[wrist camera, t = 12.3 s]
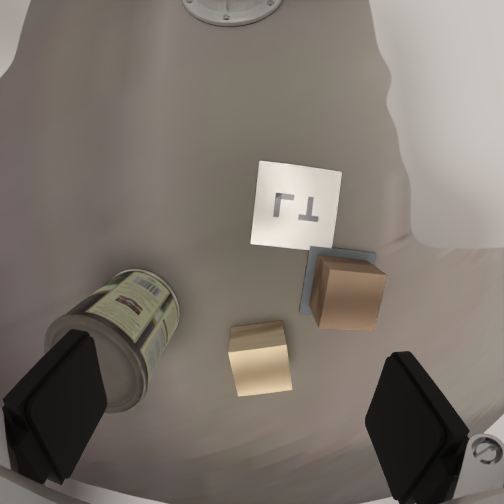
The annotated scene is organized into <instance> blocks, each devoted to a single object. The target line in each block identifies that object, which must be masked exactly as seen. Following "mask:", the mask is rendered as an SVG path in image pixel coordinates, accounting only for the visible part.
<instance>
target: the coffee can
mask: <svg viewBox="0 0 504 504" xmlns="http://www.w3.org/2000/svg"><path fill="white" fill-rule="evenodd" d="M179 318H180V309H179V304H178V300H177V298H176V296H175V294H174V292H173V290H172V289H171V287H170V286H169V285H168V284H167V283H166V282H165V281H164V280H163V279H161V278H160V277H159V276H157V275H155V274H154V273H151V272H149V271H146V270H141V269H129V270H125V271H122V272H120V273H118V274H117V275H115V276H114V277H113V278H112V279H111V280H110V281H108V282H107V283H106V284H105V285H103V286H102V287H101V288H99V289H98V290H97V291H95V292H94V293H93V294H91V295H90V296H89V297H87V298H86V299H85V300H83V301H82V302H81V303H79V304H78V305H77V306H76V307H74V308H73V309H72V310H70V311H69V312H68V313H67V314H65V315H62V316H61V317H59V318H58V319H56V320H55V321H54V322H53V323H52V324H51V325H50V327H49V328H48V330H47V332H46V335H45V341H44V349H45V354H46V353H47V352H48V351H49V350H50V349H51V348H52V347H53V346H54V345H55V344H56V343H57V342H58V341H59V340H60V339H61V338H62V337H63V336H64V335H65V334H66V333H67V332H68V331H69V330H71V329H77V330H82V331H87V332H88V333H89V334H90V337H93V339H94V341H95V346H96V352H97V357H98V362H99V366H100V371H101V375H102V380H103V384H104V388H105V392H106V396H107V408H106V410H105V412H104V413H108V414H122V413H127V412H129V411H132V410H133V409H135V408H136V407H138V406H139V404H140V403H141V402H142V401H143V399H144V397H145V394H146V391H147V387H148V384H149V382H150V380H151V378H152V376H153V374H154V372H155V370H156V368H157V366H158V364H159V361H160V359H161V357H162V355H163V353H164V351H165V349H166V347H167V345H168V343H169V341H170V339H171V337H172V335H173V333H174V332H175V330H176V328H177V326H178V323H179Z"/></svg>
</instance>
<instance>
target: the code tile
mask: <svg viewBox="0 0 504 504" xmlns="http://www.w3.org/2000/svg"><path fill="white" fill-rule="evenodd" d="M341 174H342V172H339V171H333V170H326V169H320V168H313V167H306V166H299V165H291V164H284V163H275V162H267V161H259V169H258V178H257V187H256V197H255V206H254V215H253V225H252V234H251V243H250V244H256V245H265V246H274V247H284V248H293V249H303V250H310V246H316V247H325V248H332V243H333V236H334V230H335V223H336V215H337V208H338V200H339V192H340V183H341Z"/></svg>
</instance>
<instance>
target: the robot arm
mask: <svg viewBox="0 0 504 504" xmlns="http://www.w3.org/2000/svg"><path fill="white" fill-rule="evenodd" d="M182 1H183V3H184V6H185V7H186V9H187V10H188V12H190V13H191V14H192V15H193V16H194V17H196V18H197V19H199V20H201V21H204V22H206V23H209V24H214V25H218V26H240V25H245V24H250V23H253V22H256V21H259V20H261V19H263V18H265V17H267V16H268V15H270V14H271V13H272V12H274V11H275V10H276V9H277V8H278V7H279V5H280V4H281V2H282V0H182ZM3 402H4V404H5V405H4V406H3V408H1V407H0V504H89V503H87V502H84V501H81V500H78V499H76V498H73V497H70V496H68V495H65V494H63V493H60V492H58V491H55V490H53V489H51V488H48V487H46V486H45V484H44V483H45V481H46V479H48V480H51V481H53V482H55V483H58V484H60V485H62V483H63V481H64V479H65V478H69V477H70V476H71V474H72V472H73V470H74V468H75V466H76V464H77V463H78V461H79V459H80V457H81V455H82V453H83V451H84V449H85V447H86V445H87V443H88V441H89V440H90V438H91V436H92V434H93V432H94V430H95V428H96V426H97V425H98V423H99V421H100V419H101V417H102V415H103V414H104V412H105V410H106V408H107V396H106V392H105V388H104V384H103V380H102V375H101V371H100V366H99V362H98V357H97V352H96V346H95V341H94V339H93V337H90V334H89V333H88V332H87V331H82V330H77V329H71V330H69V331H68V332H67V333H66V334H65V335H64V336H63V337H62V338H61V339H60V340H59V341H58V342H57V343H56V344H55V345H54V346H53V347H52V348H51V349H50V350H49V351H48V352H47V353H46V354H45V355H44V356H43V357H42V358H41V359H40V360H39V361H38V362H37V363H36V364H35V365H34V367H33V368H32V369H31V370H30V371H29V372H28V373H27V374H26V375H25V376H24V377H23V378H22V379H21V380H20V381H19V382H18V383H17V384H16V386H15V387H14V388H13V389H12V390H11V391H10V392H9V393H8V394H7V395H6V396H5V398H4V399H3ZM365 425H366V428H367V431H368V433H369V436H370V438H371V441H372V444H373V446H374V449H375V451H376V454H377V456H378V459H379V462H380V464H381V467H382V470H383V472H384V475H385V478H386V480H387V483H388V486H389V488H390V491H391V494H392V497H393V498H394V499H395V500H398V501H399V504H415V503H416V504H504V444H503V443H502V442H501V440H499V439H498V438H497V437H495V436H493V435H489V434H484V433H483V434H477V435H475V436H473V437H472V438H471V439H469V438H468V436H467V435H468V433H469V429H468V428H467V426H466V425H465V423H464V422H463V421H462V419H461V418H460V416H459V415H458V414H457V412H456V411H455V410H454V408H453V407H452V405H451V404H450V403H449V401H448V400H447V399H446V397H445V396H444V395H443V393H442V392H441V391H440V389H439V388H438V387H437V385H436V384H435V383H434V381H433V380H432V379H431V377H430V376H429V375H428V373H427V372H426V371H425V370H424V368H423V367H422V366H421V364H420V363H419V362H418V361H417V359H416V358H415V357H414V355H413V354H412V353H411V352H409V351H405V352H394V353H392V354H391V356H390V357H387V359H386V361H385V364H384V367H383V370H382V373H381V376H380V379H379V382H378V385H377V388H376V390H375V393H374V396H373V399H372V401H371V404H370V407H369V409H368V412H367V414H366V417H365Z"/></svg>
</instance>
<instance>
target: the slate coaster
mask: <svg viewBox="0 0 504 504" xmlns="http://www.w3.org/2000/svg"><path fill="white" fill-rule="evenodd" d="M317 255H323V256H332V257H341V258H350V259H359V260H367V261H368V262H370V263H371V264H373V265H374V263H375V258H376V253H374V252H366V251H357V250H348V249H340V248H325V247H316V246H310V250H309V251H308V258H307V265H306V272H305V278H304V284H303V291H302V297H301V303H300V309H299V313H301V314H312V311H311V309H310V307H309V302H310V296H311V290H312V285H313V279H314V273H315V267H316V260H317Z"/></svg>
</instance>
